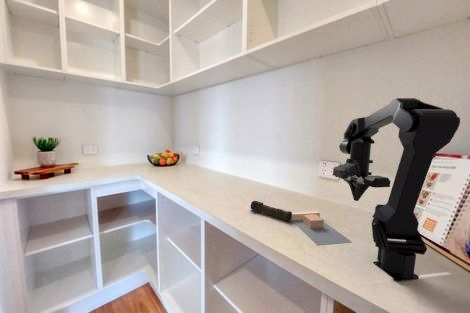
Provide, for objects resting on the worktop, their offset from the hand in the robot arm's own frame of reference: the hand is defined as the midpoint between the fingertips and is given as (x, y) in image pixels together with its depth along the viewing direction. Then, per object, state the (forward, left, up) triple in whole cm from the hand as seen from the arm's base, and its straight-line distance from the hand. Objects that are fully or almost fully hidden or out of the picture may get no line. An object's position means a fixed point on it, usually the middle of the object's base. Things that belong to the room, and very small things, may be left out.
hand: (356, 200), depth 67 cm
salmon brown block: (+5, +13, -10) cm, 17 cm away
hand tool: (+16, +26, -11) cm, 33 cm away
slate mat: (+2, +13, -11) cm, 17 cm away
